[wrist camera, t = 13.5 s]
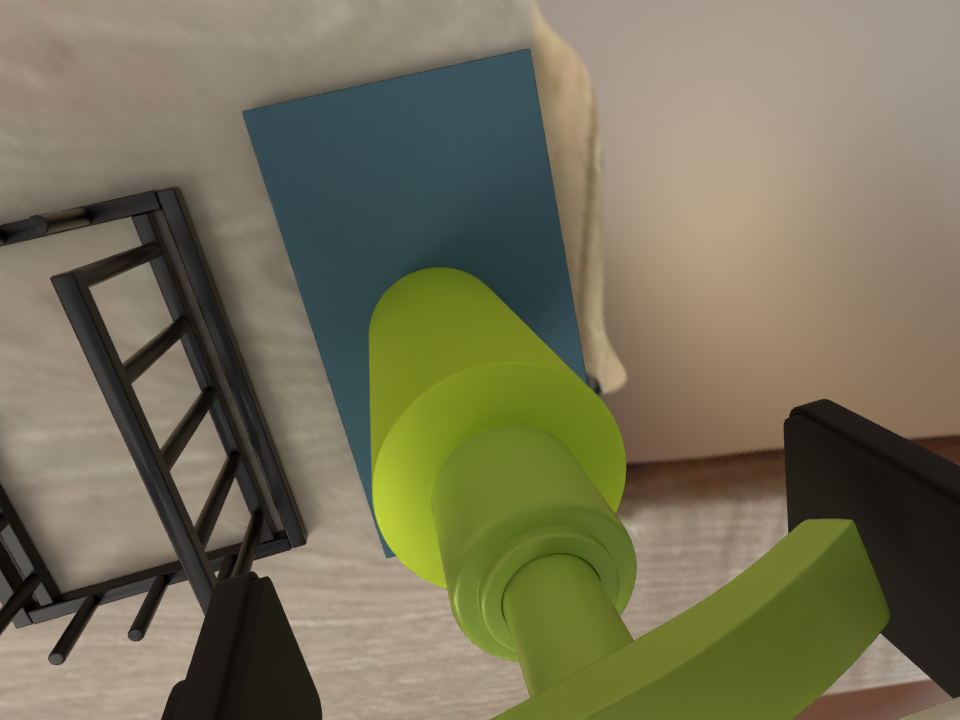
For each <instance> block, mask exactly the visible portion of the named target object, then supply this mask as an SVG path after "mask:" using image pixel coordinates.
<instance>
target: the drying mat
mask: <svg viewBox="0 0 960 720" xmlns="http://www.w3.org/2000/svg"><path fill="white" fill-rule="evenodd" d="M242 114H243V117H244V120H245V123H246V126H247V129H248V132H249V135H250V138H251V141H252V145H253V148H254V151H255V154H256V157H257V160H258V163H259V166H260V169H261V172H262V175H263V179H264V182H265V185H266V188H267V191H268V194H269V197H270V200H271V203H272V206H273V210H274V213H275V216H276V219H277V222H278V225H279V228H280V231H281V234H282V237H283V240H284V244H285V247H286V250H287V253H288V256H289V259H290V262H291V265H292V268H293V271H294V274H295V278H296V281H297V284H298V287H299V290H300V293H301V296H302V299H303V302H304V305H305V309H306V312H307V315H308V318H309V321H310V324H311V327H312V330H313V333H314V336H315V339H316V343H317V346H318V349H319V352H320V355H321V358H322V361H323V364H324V367H325V370H326V373H327V377H328V380H329V383H330V386H331V389H332V392H333V395H334V398H335V401H336V404H337V407H338V411H339V414H340V417H341V420H342V423H343V426H344V429H345V432H346V435H347V438H348V442H349V445H350V448H351V451H352V454H353V457H354V460H355V463H356V466H357V469H358V472H359V476H360V479H361V482H362V485H363V488H364V491H365V494H366V497H367V500H368V503H369V506H370V510H371V513H372V516H373V519H374V522H375V525H376V528H377V531H378V534H379V537H380V541H381V544H382V547H383V550H384V553H385V556H386V558H390V557H394V556H396V555H395V554H394V553H393V552H392V550H391V549H390V547H389V546H388V544H387V543H386V541H385V539H384V537H383V535H382V533H381V531H380V529H379V526H378V523H377V520H376V517H375V513H374V508H373V500H372V470H371V422H370V373H369V327H370V321H371V318H372V314H373V312H374V309H375V307H376V305H377V303H378V302H379V300H380V299H381V297H382V296H383V294H384V293H385V292H386V291H387V290H388V289H389V288H390V287H391V286H392V285H393V284H394V283H396V282H397V281H398V280H400V279H401V278H403V277H405V276H406V275H408V274H411V273H413V272H416V271H418V270H422V269H427V268H434V267H445V268H453V269H457V270H461V271H464V272H466V273H469V274H471V275H473V276H474V277H476V278H478V279H479V280H481V281H482V282H483V283H484V284H485V285H487V286H488V287H489V288H490V289H491V290H492V291H493V292H494V293H495V294H496V295H497V296H498V297H499V298H500V299H501V300H502V301H503V302H504V303H505V304H506V305H507V306H508V307H509V308H510V309H511V310H512V311H513V312H514V313H515V314H516V315H517V316H518V317H519V318H520V319H521V320H522V321H523V322H524V323H525V324H526V325H527V326H528V327H529V328H530V329H531V330H532V331H533V332H534V333H535V334H536V335H537V336H538V337H539V338H540V339H541V340H542V341H543V342H544V343H545V344H546V345H547V346H548V347H549V348H550V349H551V350H552V351H553V352H554V353H555V354H556V355H557V356H558V357H559V358H560V359H561V360H562V361H563V362H564V363H565V364H566V365H567V366H568V367H569V368H570V369H571V370H572V371H573V372H574V373H575V374H576V375H577V376H578V377H579V378H580V379H581V380H582V381H583V382H584V383H585V384H586V385H587V386H588V384H587V378H586V373H585V367H584V361H583V355H582V349H581V344H580V338H579V332H578V326H577V320H576V315H575V309H574V303H573V297H572V291H571V285H570V280H569V274H568V268H567V262H566V256H565V251H564V245H563V239H562V233H561V227H560V221H559V216H558V210H557V204H556V198H555V192H554V187H553V181H552V175H551V169H550V163H549V157H548V152H547V146H546V140H545V134H544V128H543V123H542V117H541V111H540V105H539V99H538V93H537V88H536V82H535V76H534V70H533V64H532V59H531V53H530V49H525V50H520V51H516V52H511V53H507V54H502V55H497V56H493V57H488V58H484V59H479V60H475V61H470V62H465V63H461V64H456V65H452V66H447V67H443V68H438V69H433V70H429V71H424V72H420V73H415V74H411V75H406V76H401V77H397V78H392V79H388V80H383V81H378V82H374V83H369V84H365V85H360V86H356V87H351V88H346V89H342V90H337V91H333V92H328V93H324V94H319V95H314V96H310V97H305V98H301V99H296V100H292V101H287V102H282V103H278V104H273V105H269V106H264V107H260V108H255V109H250V110H246V111H243V112H242Z"/></svg>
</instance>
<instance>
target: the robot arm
mask: <svg viewBox="0 0 960 720" xmlns="http://www.w3.org/2000/svg"><path fill="white" fill-rule="evenodd" d="M784 448H785V470H786V491H787V512H788V534H789V533H790V532H791V531H792V530H793V529H794V528H796V527H797V526H798V525H799V524H801V523H802V522H803V521H805V520H808V519H829V518H832V519H850V520H853V522H854V524H855V525H856V528H857V530H858V532H859V535H860V537H861V540H862V542H863V545H864V547H865V549H866V552H867V554H868V557H869V559H870V562H871V564H872V566H873V569H874V571H875V574H876V576H877V579H878V582H879V584H880V587H881V589H882V592H883V594H884V597H885V599H886V602H887V604H888V607H889V610H890V620H889V622H888V623H887V625H886V626H885V628H884V629H883V630H882V632H881V634H882V635H883V636H884V637H885V638H887V639H888V640H889V641H890V642H891V643H892V644H893V645H894V646H895V647H897V648H898V649H899V650H900V651H901V652H902V653H903V654H904V655H905V656H907V657H908V658H909V659H910V660H911V661H912V662H913V663H914V664H915V665H917V666H918V667H919V668H920V669H921V670H922V671H923V672H924V673H925V674H927V675H928V676H929V677H930V678H931V679H932V680H933V681H934V682H936V683H937V684H938V685H939V686H940V687H941V688H942V689H943V690H944V691H945V692H947V693H948V694H949V695H950V696H951V697H952V698H953V699H952V700H949V701H947V702H944V703H941V704H939V705H936V706H933V707H931V708H928V709H925V710H922V711H920V712H917V713H914V714H911V715H908V716H906V717H903V718H900V719H898V720H960V466H958V465H956V464H954V463H953V462H951V461H949V460H947V459H945V458H943V457H941V456H939V455H937V454H935V453H933V452H931V451H929V450H927V449H925V448H923V447H921V446H919V445H917V444H915V443H913V442H911V441H909V440H907V439H905V438H903V437H901V436H899V435H897V434H895V433H893V432H891V431H889V430H887V429H885V428H883V427H882V426H880V425H878V424H876V423H874V422H872V421H870V420H868V419H866V418H864V417H862V416H860V415H858V414H856V413H854V412H852V411H850V410H848V409H846V408H844V407H842V406H840V405H838V404H836V403H834V402H832V401H830V400H827V399H822V400H818V401H815V402H811V403H808V404H805V405H802V406H798V407H795V408H794V409H792V410H791V412H790V415H789V418H787V419H786V420H785V422H784ZM161 720H322V708H321V703H320V698H319V695H318V692H317V690H316V687H315V685H314V683H313V680H312V678H311V675H310V673H309V670H308V668H307V666H306V663H305V661H304V658H303V656H302V653H301V651H300V649H299V646H298V644H297V641H296V639H295V637H294V634H293V632H292V629H291V627H290V624H289V622H288V620H287V617H286V615H285V612H284V610H283V607H282V605H281V603H280V600H279V598H278V595H277V593H276V590H275V588H274V586H273V583H272V581H271V579H270V578H269V577H267V576H266V577H263V578H259V577H258V575H257V574H256V573H255V572H253V571H251V572H248V573H245V574H242V575H238V576H235V577H232V578H228V579H225V580H222V581H219V582H217V583H216V585H215V587H214V590H213V594H212V597H211V600H210V603H209V606H208V609H207V613H206V616H205V619H204V622H203V625H202V628H201V631H200V635H199V638H198V641H197V644H196V647H195V650H194V654H193V657H192V660H191V663H190V666H189V669H188V673H187V676H186V679H185V680H183V681H180V682H178V683H177V684H176V685H175V686H174V687H173V689H172V691H171V693H170V695H169V698H168V701H167V704H166V707H165V710H164V713H163V716H162V718H161Z"/></svg>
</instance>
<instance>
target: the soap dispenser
mask: <svg viewBox="0 0 960 720" xmlns="http://www.w3.org/2000/svg"><path fill="white" fill-rule="evenodd" d="M369 373H370V422H371V470H372V500H373V508H374V513H375V517H376V520H377V523H378V526H379V529H380V531H381V533H382V535H383V537H384V539H385V541H386V543H387V544H388V546H389V547H390V549H391V550H392V552H393V553H394V554H395V555H396V557H397V558H398V559H399V560H400V561H401V562H402V563H403V564H404V565H405V566H406V567H408V568H409V569H410V570H411V571H412V572H414V573H415V574H417V575H418V576H420V577H421V578H423V579H425V580H426V581H428V582H430V583H432V584H435V585H437V586H439V587H442V588H445V589H447V591H448V596H449V600H450V604H451V608H452V611H453V614H454V617H455V619H456V621H457V623H458V625H459V627H460V628H461V630H462V631H463V633H464V634H465V635H466V636H467V638H468V639H469V640H470V641H471V642H472V643H474V644H475V645H476V646H477V647H479V648H480V649H482V650H483V651H485V652H487V653H489V654H491V655H493V656H496V657H498V658H502V659H505V660H509V661H514V662H519V664H520V667H521V670H522V673H523V676H524V680H525V683H526V686H527V689H528V693H529V696H530V699H528V700H526V701H524V702H522V703H520V704H519V705H517V706H515V707H513V708H511V709H509V710H507V711H505V712H504V713H502V714H500V715H498V716H496V717H494V718H492V719H491V720H792V719H793V718H794V717H796V716H797V715H798V714H799V713H801V712H802V711H803V710H804V709H805V708H807V707H808V706H809V705H810V704H811V703H812V702H814V701H815V700H816V699H817V698H818V697H819V696H820V695H821V694H823V693H824V692H825V691H826V690H827V689H828V688H829V687H830V686H831V685H832V684H833V683H834V682H835V681H836V680H837V679H838V678H839V677H840V676H841V675H842V674H843V673H844V672H845V671H846V670H847V669H848V668H849V667H850V666H851V665H852V664H853V663H854V662H855V661H856V660H857V659H858V658H859V657H860V656H861V655H862V653H863V652H864V651H865V650H866V649H867V648H868V647H869V646H870V644H871V643H872V642H873V641H874V640H875V639H876V638H877V636H878V635H879V634H880V633H881V632H882V630H883V629H884V628H885V626H886V625H887V623H888V622H889V620H890V610H889V607H888V604H887V602H886V599H885V597H884V594H883V592H882V589H881V587H880V584H879V582H878V579H877V576H876V574H875V571H874V569H873V566H872V564H871V562H870V559H869V557H868V554H867V552H866V549H865V547H864V545H863V542H862V540H861V537H860V535H859V532H858V530H857V528H856V525H855V524H854V522H853V520H850V519H832V518H829V519H808V520H805V521H803V522H802V523H801V524H799V525H798V526H797V527H796V528H794V529H793V530H792V531H791V532H790V533H789V534H788V535H787V536H785V537H784V538H783V539H782V540H781V541H780V542H779V543H778V544H777V545H775V546H774V547H773V548H772V549H771V550H770V551H769V552H767V553H766V554H765V555H764V556H763V557H762V558H760V559H759V560H758V561H757V562H756V563H754V564H753V565H752V566H750V567H749V568H748V569H747V570H745V571H744V572H743V573H742V574H740V575H739V576H738V577H736V578H735V579H734V580H732V581H731V582H729V583H728V584H727V585H725V586H724V587H722V588H721V589H719V590H718V591H716V592H715V593H713V594H712V595H711V596H709V597H708V598H706V599H704V600H703V601H701V602H700V603H698V604H697V605H695V606H693V607H692V608H690V609H688V610H687V611H685V612H684V613H682V614H680V615H679V616H677V617H675V618H673V619H672V620H670V621H668V622H667V623H665V624H663V625H661V626H660V627H658V628H656V629H654V630H652V631H651V632H649V633H647V634H645V635H643V636H642V637H640V638H638V639H636V640H633V638H632V636H631V635H630V633H629V631H628V629H627V628H626V626H625V624H624V622H623V621H622V619H621V617H620V615H621V614H622V612H623V611H624V609H625V607H626V605H627V603H628V601H629V599H630V597H631V594H632V591H633V588H634V584H635V580H636V571H637V564H636V555H635V551H634V547H633V544H632V541H631V539H630V536H629V534H628V532H627V530H626V529H625V527H624V526H623V524H622V523H621V521H620V520H619V518H618V517H617V515H616V511H617V509H618V506H619V504H620V501H621V497H622V494H623V489H624V484H625V477H626V457H625V449H624V444H623V440H622V437H621V433H620V431H619V428H618V425H617V423H616V421H615V419H614V417H613V416H612V414H611V412H610V411H609V409H608V408H607V406H606V405H605V404H604V402H603V401H602V400H601V399H600V398H599V397H598V396H597V395H596V393H595V392H594V391H593V390H592V389H591V388H589V387H588V386H587V385H586V384H585V383H584V382H583V381H582V380H581V379H580V378H579V377H578V376H577V375H576V374H575V373H574V372H573V371H572V370H571V369H570V368H569V367H568V366H567V365H566V364H565V363H564V362H563V361H562V360H561V359H560V358H559V357H558V356H557V355H556V354H555V353H554V352H553V351H552V350H551V349H550V348H549V347H548V346H547V345H546V344H545V343H544V342H543V341H542V340H541V339H540V338H539V337H538V336H537V335H536V334H535V333H534V332H533V331H532V330H531V329H530V328H529V327H528V326H527V325H526V324H525V323H524V322H523V321H522V320H521V319H520V318H519V317H518V316H517V315H516V314H515V313H514V312H513V311H512V310H511V309H510V308H509V307H508V306H507V305H506V304H505V303H504V302H503V301H502V300H501V299H500V298H499V297H498V296H497V295H496V294H495V293H494V292H493V291H492V290H491V289H490V288H489V287H488V286H487V285H485V284H484V283H483V282H482V281H481V280H479V279H478V278H476V277H474V276H473V275H471V274H469V273H466V272H464V271H461V270H457V269H453V268H445V267H434V268H427V269H422V270H418V271H416V272H413V273H411V274H408V275H406V276H405V277H403V278H401V279H400V280H398V281H397V282H396V283H394V284H393V285H392V286H391V287H390V288H389V289H388V290H387V291H386V292H385V293H384V294H383V296H382V297H381V299H380V300H379V302H378V303H377V305H376V307H375V309H374V312H373V314H372V318H371V321H370V327H369Z"/></svg>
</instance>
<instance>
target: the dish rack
mask: <svg viewBox="0 0 960 720" xmlns="http://www.w3.org/2000/svg"><path fill="white" fill-rule="evenodd" d="M160 209H162V211H163V213H164V216H165V218H166V221H167V224H168V226H169V229H170V231H171V234H172V237H173V239H174V242H175V244H176V247H177V250H178V252H179V255H180V258H181V260H182V263H183V265H184V268H185V271H186V273H187V276H188V278H189V281H190V284H191V286H192V289H193V292H194V294H195V297H196V299H197V302H198V305H199V307H200V310H201V312H202V315H203V318H204V320H205V323H206V325H207V328H208V331H209V333H210V336H211V339H212V341H213V344H214V346H215V349H216V352H217V354H218V357H219V359H220V362H221V365H222V367H223V370H224V373H225V375H226V378H227V380H228V383H229V386H230V388H231V391H232V393H233V396H234V399H235V401H236V404H237V407H238V409H239V412H240V414H241V417H242V420H243V422H244V425H245V427H246V430H247V433H248V435H249V438H250V440H251V443H252V446H253V448H254V451H255V454H256V456H257V459H258V461H259V464H260V467H261V469H262V472H263V474H264V477H265V480H266V482H267V485H268V488H269V490H270V493H271V495H272V498H273V501H274V503H275V506H276V508H277V511H278V514H279V516H280V519H281V522H282V524H283V527H284V529H285V531H282V532H279V533H276V530H275V527H274V525H273V522H272V520H271V517H270V515H269V512H268V509H267V507H266V504H265V502H264V499H263V497H262V494H261V491H260V489H259V486H258V484H257V481H256V479H255V476H254V473H253V471H252V468H251V466H250V463H249V461H248V458H247V455H246V453H245V450H244V448H243V445H242V443H241V440H240V437H239V435H238V432H237V430H236V427H235V425H234V422H233V419H232V417H231V414H230V412H229V409H228V407H227V404H226V401H225V399H224V396H223V394H222V391H221V389H220V386H219V383H218V381H217V378H216V376H215V373H214V370H213V368H212V365H211V363H210V360H209V358H208V355H207V352H206V350H205V347H204V345H203V342H202V340H201V337H200V334H199V332H198V329H197V327H196V324H195V322H194V319H193V316H192V314H191V311H190V309H189V306H188V304H187V301H186V298H185V296H184V293H183V291H182V288H181V286H180V283H179V280H178V278H177V275H176V273H175V270H174V268H173V265H172V262H171V260H170V257H169V255H168V252H167V250H166V247H165V244H164V242H163V239H162V237H161V234H160V232H159V229H158V226H157V224H156V221H155V219H154V216H153V214H152V211H156V210H160ZM130 216H132V220H133V222H134V225H135V227H136V230H137V232H138V235H139V237H140V240H141V242H142V245H141V246H138V247H135V248H133V249H130V250H127V251H124V252H122V253H119V254H116V255H113V256H110V257H108V258H105V259H102V260H99V261H97V262H94V263H91V264H88V265H85V266H83V267H80V268H77V269H74V270H72V271H69V272H65V273H60V274H58V275H55V276H52V277H51V278H50V279H51V282H52V284H53V286H54V288H55V290H56V293H57V295H58V297H59V299H60V301H61V303H62V306H63V308H64V310H65V312H66V314H67V316H68V319H69V321H70V323H71V325H72V327H73V330H74V332H75V334H76V336H77V338H78V340H79V343H80V345H81V347H82V349H83V351H84V354H85V356H86V358H87V360H88V362H89V364H90V367H91V369H92V371H93V373H94V375H95V377H96V380H97V382H98V384H99V386H100V388H101V391H102V393H103V395H104V397H105V399H106V401H107V404H108V406H109V408H110V410H111V412H112V414H113V417H114V419H115V421H116V423H117V425H118V428H119V430H120V432H121V434H122V436H123V438H124V441H125V443H126V445H127V447H128V449H129V451H130V454H131V456H132V458H133V460H134V462H135V465H136V467H137V469H138V471H139V473H140V475H141V478H142V480H143V482H144V484H145V486H146V489H147V491H148V493H149V495H150V497H151V499H152V502H153V504H154V506H155V508H156V510H157V512H158V515H159V517H160V519H161V521H162V523H163V526H164V528H165V530H166V532H167V534H168V536H169V539H170V541H171V543H172V545H173V547H174V549H175V552H176V554H177V556H178V558H179V560H180V561H178V562H175V563H171V564H168V565H164V566H161V567H157V568H154V569H150V570H147V571H143V572H140V573H136V574H133V575H129V576H126V577H122V578H119V579H115V580H112V581H108V582H105V583H102V584H98V585H95V586H91V587H88V588H84V589H81V590H77V591H74V592H70V593H67V594H63V595H60V593H59V591H58V589H57V587H56V586H55V584H54V582H53V580H52V578H51V577H50V575H49V573H48V571H47V569H46V567H45V566H44V564H43V562H42V560H41V558H40V557H39V555H38V553H37V551H36V549H35V547H34V546H33V544H32V542H31V540H30V538H29V536H28V535H27V533H26V531H25V529H24V527H23V526H22V524H21V522H20V520H19V518H18V516H17V515H16V513H15V511H14V509H13V507H12V506H11V504H10V502H9V500H8V498H7V496H6V495H5V493H4V491H3V489H2V487H1V486H0V535H1V537H2V538H3V540H4V542H5V544H6V545H7V547H8V549H9V551H10V552H11V554H12V556H13V558H14V560H15V561H16V563H17V565H18V567H19V568H20V570H21V572H22V574H23V575H24V577H25V580H24V581H23V582H22V581H21V579H20V577H19V575H18V574H17V572H16V570H15V568H14V567H13V565H12V563H11V561H10V560H9V558H8V556H7V554H6V553H5V551H4V549H3V547H2V546H1V544H0V601H1V603H2V605H3V607H2V608H1V609H0V635H1V634H2V633H3V631H4V630H5V629H6V628H7V626H8V625H9V624H10V622H11V621H12V622H13V623H14V625H15V627H16V628H17V629H18V628H21V627H25V626H28V625H31V624H33V623H34V624H37V623H41V622H44V621H48V620H51V619H54V618H58V617H61V616H65V615H68V614H72V613H75V612H77V613H76V614H75V616H74V617H73V619H72V621H71V622H70V624H69V625H68V627H67V628H66V630H65V631H64V633H63V635H62V636H61V638H60V639H59V641H58V642H57V644H56V645H55V647H54V649H53V650H52V652H51V653H50V655H49V657H48V660H49V662H50V663H51V664H54V665H60V664H62V663H63V662H64V661H65V660H66V658H67V657H68V655H69V653H70V652H71V650H72V648H73V647H74V645H75V643H76V642H77V640H78V638H79V637H80V635H81V633H82V632H83V630H84V629H85V627H86V625H87V624H88V622H89V620H90V619H91V617H92V615H93V614H94V612H95V610H96V609H97V607H98V606H99V605H103V604H106V603H109V602H113V601H116V600H120V599H123V598H127V597H130V596H134V595H137V594H140V593H144V592H147V591H149V592H148V594H147V596H146V598H145V600H144V602H143V604H142V606H141V608H140V610H139V612H138V614H137V616H136V618H135V620H134V622H133V624H132V626H131V628H130V630H129V632H128V638H129V639H130V640H132V641H140V640H141V639H143V638H144V636H145V634H146V631H147V629H148V627H149V625H150V623H151V621H152V619H153V616H154V614H155V612H156V610H157V608H158V606H159V604H160V601H161V599H162V597H163V595H164V593H165V591H166V589H167V586H168V585H171V584H175V583H178V582H182V581H185V580H189V582H190V584H191V586H192V589H193V591H194V593H195V595H196V597H197V600H198V602H199V604H200V606H201V608H202V610H203V613H204V615H205V616H206V613H207V609H208V606H209V603H210V600H211V597H212V594H213V590H214V587H215V585H216V583H217V582H219V581H222V580H225V579H228V578H232V577H235V576H238V575H242V574H245V573H248V572H250V571H251V567H252V564H253V561H254V560H257V559H261V558H264V557H268V556H271V555H275V554H278V553H281V552H285V551H288V550H291V548H295V547H299V546H302V545H305V544H306V542H307V533H306V530H305V528H304V525H303V522H302V520H301V517H300V514H299V512H298V509H297V506H296V503H295V501H294V498H293V495H292V493H291V490H290V487H289V484H288V482H287V479H286V476H285V474H284V471H283V468H282V466H281V463H280V460H279V457H278V455H277V452H276V449H275V447H274V444H273V441H272V438H271V436H270V433H269V430H268V428H267V425H266V422H265V419H264V417H263V414H262V411H261V409H260V406H259V403H258V401H257V398H256V395H255V392H254V390H253V387H252V384H251V382H250V379H249V376H248V373H247V371H246V368H245V365H244V363H243V360H242V357H241V355H240V352H239V349H238V346H237V344H236V341H235V338H234V336H233V333H232V330H231V327H230V325H229V322H228V319H227V317H226V314H225V311H224V308H223V306H222V303H221V300H220V298H219V295H218V292H217V290H216V287H215V284H214V281H213V279H212V276H211V273H210V271H209V268H208V265H207V262H206V260H205V257H204V254H203V252H202V249H201V246H200V244H199V241H198V238H197V235H196V233H195V230H194V227H193V225H192V222H191V219H190V216H189V214H188V211H187V208H186V206H185V203H184V200H183V198H182V195H181V192H180V189H179V188H178V187H172V188H168V189H163V190H152V191H148V192H144V193H139V194H135V195H131V196H126V197H122V198H117V199H113V200H109V201H104V202H100V203H95V204H91V205H87V206H82V207H78V208H74V209H69V210H65V211H60V212H53V213H47V214H40V215H34V216H31V217H30V218H29V219H25V220H21V221H17V222H12V223H8V224H3V225H0V247H1V246H5V245H9V244H13V243H18V242H22V241H26V240H31V239H35V238H39V237H44V236H48V235H52V234H57V233H61V232H65V231H70V230H74V229H78V228H83V227H87V226H91V225H96V224H100V223H104V222H109V221H113V220H117V219H122V218H126V217H130ZM148 261H149V262H150V265H151V267H152V270H153V272H154V275H155V277H156V280H157V282H158V285H159V287H160V290H161V292H162V295H163V297H164V300H165V302H166V305H167V307H168V309H169V312H170V314H171V317H172V319H173V323H171V324H170V325H169V326H168V327H167V328H165V329H164V330H163V331H162V332H160V333H159V334H158V335H157V336H156V337H154V338H153V339H152V340H151V341H150V342H148V343H147V344H146V345H145V346H143V347H142V348H141V349H140V350H139V351H137V352H136V353H135V354H134V355H132V356H131V357H130V358H129V359H128V360H126V361H125V362H124V363H123V364H122V362H121V360H120V358H119V356H118V353H117V351H116V349H115V346H114V344H113V342H112V340H111V337H110V335H109V333H108V331H107V328H106V326H105V324H104V321H103V319H102V317H101V315H100V312H99V310H98V308H97V306H96V303H95V301H94V299H93V297H92V294H91V292H90V290H89V288H90V287H92V286H95V285H97V284H99V283H101V282H104V281H106V280H108V279H110V278H112V277H115V276H117V275H119V274H121V273H124V272H126V271H128V270H130V269H133V268H135V267H137V266H139V265H142V264H144V263H146V262H148ZM179 339H181V342H182V344H183V347H184V349H185V352H186V354H187V357H188V359H189V362H190V364H191V367H192V369H193V372H194V374H195V377H196V379H197V382H198V384H199V387H200V389H201V393H200V395H199V396H198V398H197V399H196V400H195V402H194V403H193V405H192V406H191V407H190V409H189V410H188V412H187V413H186V414H185V416H184V417H183V419H182V420H181V421H180V423H179V424H178V426H177V427H176V428H175V430H174V431H173V432H172V434H171V435H170V437H169V438H168V439H167V441H166V442H165V444H164V445H163V446H162V448H161V449H159V446H158V444H157V442H156V440H155V437H154V435H153V433H152V431H151V428H150V426H149V424H148V421H147V419H146V417H145V415H144V412H143V410H142V408H141V406H140V403H139V401H138V399H137V396H136V394H135V392H134V390H133V387H132V385H131V384H132V383H133V382H134V381H135V380H136V379H137V378H138V377H139V376H141V375H142V374H143V373H144V372H145V371H146V370H147V369H148V368H149V367H150V366H151V365H152V364H153V363H154V362H155V361H156V360H158V359H159V358H160V357H161V356H162V355H163V354H164V353H165V352H166V351H167V350H168V349H169V348H170V347H171V346H172V345H174V344H175V343H176V342H177V341H178V340H179ZM208 410H209V412H210V414H211V417H212V419H213V422H214V424H215V427H216V429H217V432H218V434H219V437H220V439H221V442H222V444H223V447H224V449H225V452H226V454H227V458H226V460H225V463H224V465H223V467H222V469H221V471H220V473H219V475H218V477H217V480H216V482H215V484H214V486H213V488H212V490H211V492H210V494H209V497H208V499H207V501H206V503H205V505H204V507H203V509H202V511H201V514H200V516H199V518H198V520H197V522H196V524H195V526H193V524H192V521H191V519H190V517H189V515H188V512H187V510H186V508H185V506H184V503H183V501H182V499H181V496H180V494H179V492H178V490H177V487H176V485H175V483H174V481H173V478H172V476H171V474H170V470H171V468H172V467H173V465H174V464H175V462H176V461H177V459H178V457H179V456H180V454H181V453H182V451H183V449H184V448H185V446H186V445H187V443H188V442H189V440H190V438H191V437H192V435H193V434H194V432H195V431H196V429H197V427H198V426H199V424H200V423H201V421H202V420H203V418H204V416H205V415H206V413H207V412H208ZM235 477H236V479H237V482H238V484H239V487H240V489H241V492H242V494H243V497H244V499H245V502H246V504H247V507H248V509H249V512H250V514H251V518H250V521H249V524H248V527H247V531H246V534H245V537H244V540H243V543H241V544H237V545H234V546H230V547H227V548H223V549H220V550H216V551H213V552H209V553H205V551H204V550H205V548H206V545H207V543H208V541H209V538H210V536H211V533H212V531H213V529H214V526H215V524H216V521H217V519H218V516H219V514H220V512H221V509H222V507H223V504H224V502H225V500H226V497H227V495H228V492H229V490H230V488H231V485H232V483H233V480H234V478H235ZM216 571H219V574H218V577H217V578H216V576H215V574H214V572H216ZM33 593H34V595H35V597H36V598H37V600H38V602H36V603H34V602H33V600H32V598H31V595H32V594H33ZM59 595H60V596H59Z"/></svg>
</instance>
